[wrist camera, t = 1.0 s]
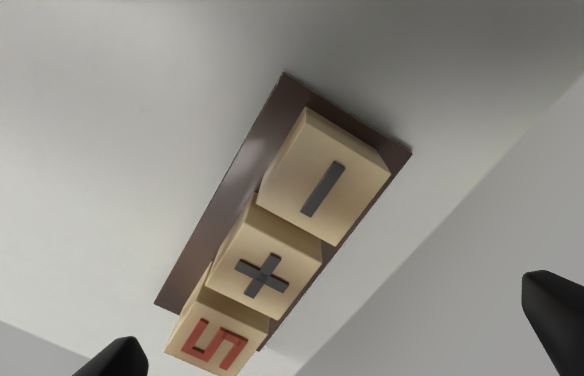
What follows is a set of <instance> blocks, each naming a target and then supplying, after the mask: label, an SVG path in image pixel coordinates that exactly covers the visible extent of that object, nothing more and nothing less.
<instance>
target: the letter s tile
mask: <svg viewBox="0 0 584 376" xmlns="http://www.w3.org/2000/svg"><path fill="white" fill-rule="evenodd" d="M213 263H214V262H213V261H211V262H210V264H209V266H208V267H207V269H206V271H205V272H204V274H203V276H202V277H201V279H200V280H199V282H198V284H197V285H196V287H195V289H194V290H193V292H192V294H191V295H190V297H189V299H188V300H187V302H186V304H185V305H184V307H183V309H182V311H181V313H180V316H179V318H178V320H177V322H176V324H175V327H174V329H173V331H172V333H171V336H170V338H169V340H168V342H167V345H166V347H165V349H164V353H167V354H169V355H171V356H174V357H176V358H178V359H181V360H183V361H185V362H188V363H190V364H192V365H195V366H197V367H199V368H202V369H204V370H206V371H208V372H211V373H213V374H215V375H218V376H236V375H237V374H238V373H239V372H240V370H241V369H242V368H243V366H244V365H245V364H246V362H247V361H248V360H249V359H250V357H251V356H252V355H253V353H254V352H255V351H256V349H257V348H258V347H259V346H260V344H261V343H262V342H263V340H264V339H265V338H266V336H267V335H268V329H269V321H270V317H269V316H267V315H265V314H263V313H261V312H259V311H257V310H254V309H252V308H250V307H248V306H246V305H244V304H242V303H240V302H238V301H236V300H234V299H231V298H229V297H227V296H225V295H223V294H221V293H219V292H217V291H215V290H213V289H211V288H208V287H206V286H205V283H206V280H207V278H208V275H209V273H210V270H211V268H212V265H213Z"/></svg>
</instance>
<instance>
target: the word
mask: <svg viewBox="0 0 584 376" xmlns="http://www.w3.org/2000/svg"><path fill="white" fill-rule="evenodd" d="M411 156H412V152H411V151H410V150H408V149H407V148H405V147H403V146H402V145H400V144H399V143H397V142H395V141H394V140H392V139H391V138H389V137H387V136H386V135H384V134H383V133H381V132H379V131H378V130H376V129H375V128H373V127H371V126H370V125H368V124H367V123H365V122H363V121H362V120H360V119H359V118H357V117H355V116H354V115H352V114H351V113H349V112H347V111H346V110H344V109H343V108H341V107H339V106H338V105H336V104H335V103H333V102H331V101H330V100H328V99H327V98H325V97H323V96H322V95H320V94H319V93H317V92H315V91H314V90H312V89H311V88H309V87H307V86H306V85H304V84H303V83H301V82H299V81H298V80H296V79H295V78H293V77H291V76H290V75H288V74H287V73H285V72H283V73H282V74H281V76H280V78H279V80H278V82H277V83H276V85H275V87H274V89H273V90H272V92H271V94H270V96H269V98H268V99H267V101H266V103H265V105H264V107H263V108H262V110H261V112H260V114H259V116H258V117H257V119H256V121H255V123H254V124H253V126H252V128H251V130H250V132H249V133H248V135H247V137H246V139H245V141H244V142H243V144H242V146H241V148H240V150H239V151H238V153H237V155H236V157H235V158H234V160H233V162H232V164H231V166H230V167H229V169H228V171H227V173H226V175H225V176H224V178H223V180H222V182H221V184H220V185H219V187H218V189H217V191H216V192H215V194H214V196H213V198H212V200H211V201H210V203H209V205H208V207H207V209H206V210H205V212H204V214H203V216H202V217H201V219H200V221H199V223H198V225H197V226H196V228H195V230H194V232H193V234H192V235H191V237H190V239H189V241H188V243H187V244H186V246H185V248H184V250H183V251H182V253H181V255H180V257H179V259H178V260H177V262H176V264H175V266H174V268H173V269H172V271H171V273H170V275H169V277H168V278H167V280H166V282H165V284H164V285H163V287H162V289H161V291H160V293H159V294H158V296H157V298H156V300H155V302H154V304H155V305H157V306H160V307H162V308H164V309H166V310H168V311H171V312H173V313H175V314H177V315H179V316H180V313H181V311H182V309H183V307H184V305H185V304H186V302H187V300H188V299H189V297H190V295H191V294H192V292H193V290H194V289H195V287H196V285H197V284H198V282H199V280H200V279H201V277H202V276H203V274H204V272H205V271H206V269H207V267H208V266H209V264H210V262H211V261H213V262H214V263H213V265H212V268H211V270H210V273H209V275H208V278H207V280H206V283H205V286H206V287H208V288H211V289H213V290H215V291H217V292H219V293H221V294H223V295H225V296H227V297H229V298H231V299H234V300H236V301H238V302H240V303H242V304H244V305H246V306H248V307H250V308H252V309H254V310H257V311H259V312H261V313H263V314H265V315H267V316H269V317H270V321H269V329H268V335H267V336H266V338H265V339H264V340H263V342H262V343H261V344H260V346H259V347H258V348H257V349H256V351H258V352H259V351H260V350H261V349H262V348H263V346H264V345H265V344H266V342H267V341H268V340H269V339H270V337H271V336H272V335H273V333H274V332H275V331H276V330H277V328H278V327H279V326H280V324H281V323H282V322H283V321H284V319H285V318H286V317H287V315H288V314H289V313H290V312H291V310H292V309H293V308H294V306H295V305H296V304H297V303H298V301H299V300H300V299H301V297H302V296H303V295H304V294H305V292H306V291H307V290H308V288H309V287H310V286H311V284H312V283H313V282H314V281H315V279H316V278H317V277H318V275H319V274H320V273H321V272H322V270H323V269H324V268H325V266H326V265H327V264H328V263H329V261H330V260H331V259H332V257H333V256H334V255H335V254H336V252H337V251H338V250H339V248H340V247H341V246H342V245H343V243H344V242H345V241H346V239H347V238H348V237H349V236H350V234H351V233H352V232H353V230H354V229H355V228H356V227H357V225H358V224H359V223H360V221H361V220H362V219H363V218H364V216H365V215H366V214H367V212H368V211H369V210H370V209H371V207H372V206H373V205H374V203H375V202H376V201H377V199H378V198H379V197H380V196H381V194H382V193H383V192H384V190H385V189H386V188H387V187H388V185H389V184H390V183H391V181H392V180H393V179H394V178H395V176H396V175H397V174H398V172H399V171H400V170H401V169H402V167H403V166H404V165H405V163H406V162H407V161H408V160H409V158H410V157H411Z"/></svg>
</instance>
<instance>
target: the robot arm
mask: <svg viewBox="0 0 584 376" xmlns="http://www.w3.org/2000/svg"><path fill="white" fill-rule="evenodd" d="M522 307H523V311H524V313H525V315H526V317H527V318H528V320H529V322H530V324H531V326H532V327H533V329H534V331H535V333H536V334H537V336H538V338H539V340H540V341H541V343H542V345H543V347H544V348H545V350H546V352H547V354H548V356H549V357H550V359H551V361H552V363H553V364H554V366H555V368H556V370H557V371H558V373H559V375H560V376H584V286H581V285H579V284H577V283H574V282H572V281H570V280H567V279H565V278H563V277H560V276H558V275H556V274H554V273H551V272H549V271H546V270H539V271H533V272H527V273H525V274H524V275H523V277H522ZM148 367H149V364H148V359H147V357H146V355H145V353H144V351H143V350H142V348H141V346H140V344H139V342H138V340H137V339H136V338H135V337H133V336H128V337H122V338H118V339H116V340H114V341H113V342H112V343H111V344H109V345H108V346H107V347H106V348H105V349H103V350H102V351H101V352H100V353H99V354H97V355H96V356H95V357H94V358H93V359H91V360H90V361H89V362H88V363H87V364H85V365H84V366H83V367H82V368H81V369H79V370H78V371H77V372H76V373H75V374H74V375H72V376H147V373H148Z"/></svg>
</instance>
